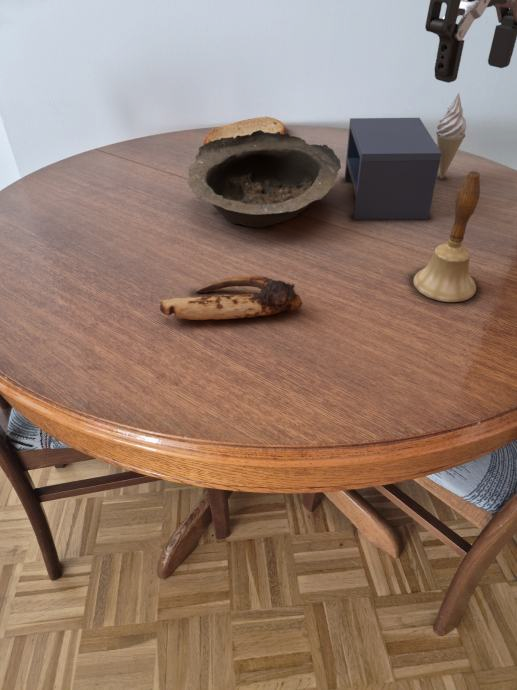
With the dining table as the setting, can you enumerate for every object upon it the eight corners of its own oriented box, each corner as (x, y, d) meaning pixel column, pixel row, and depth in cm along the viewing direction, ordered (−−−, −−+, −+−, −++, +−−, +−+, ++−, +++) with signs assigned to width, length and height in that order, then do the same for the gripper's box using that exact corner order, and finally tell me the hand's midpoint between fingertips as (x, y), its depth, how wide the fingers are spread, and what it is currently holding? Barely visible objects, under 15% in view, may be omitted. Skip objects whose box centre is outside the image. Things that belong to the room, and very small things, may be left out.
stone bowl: (291, 166, 105) (295, 118, 99) (362, 232, 89) (372, 179, 83) (169, 190, 97) (164, 139, 91) (222, 266, 81) (221, 212, 75)
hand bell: (438, 262, 79) (463, 154, 69) (488, 287, 74) (523, 175, 64) (400, 282, 75) (421, 171, 65) (450, 310, 70) (481, 195, 60)
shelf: (409, 178, 101) (419, 117, 94) (428, 219, 89) (441, 153, 82) (344, 178, 101) (349, 118, 94) (354, 219, 89) (361, 153, 82)
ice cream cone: (422, 175, 102) (437, 90, 92) (444, 170, 103) (462, 86, 94) (437, 185, 98) (456, 98, 89) (461, 181, 100) (481, 94, 90)
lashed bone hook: (293, 285, 76) (163, 292, 74) (294, 256, 73) (159, 262, 71) (304, 325, 68) (161, 334, 67) (307, 294, 66) (156, 302, 64)
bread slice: (283, 126, 123) (283, 108, 121) (292, 156, 110) (292, 138, 107) (204, 129, 123) (203, 112, 120) (203, 160, 109) (201, 141, 106)
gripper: (505, -137, 40) (456, 95, 51) (607, -139, 46) (545, 68, 57) (426, -135, 45) (397, 78, 55) (528, -136, 51) (484, 55, 61)
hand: (472, 73), depth 56 cm, fingers open, 8 cm apart
